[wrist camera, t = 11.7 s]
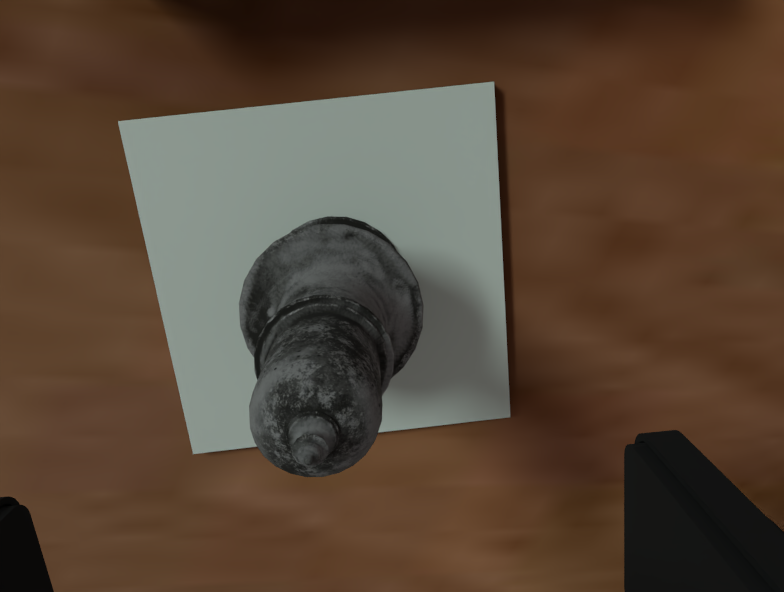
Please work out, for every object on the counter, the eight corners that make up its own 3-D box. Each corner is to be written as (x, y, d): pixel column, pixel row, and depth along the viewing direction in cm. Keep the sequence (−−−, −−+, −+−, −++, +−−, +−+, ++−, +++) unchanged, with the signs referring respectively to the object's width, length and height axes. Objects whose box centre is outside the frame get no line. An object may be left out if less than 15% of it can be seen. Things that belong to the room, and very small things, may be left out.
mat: (491, 82, 21) (494, 81, 20) (507, 411, 25) (510, 417, 24) (123, 121, 21) (117, 121, 20) (196, 447, 24) (193, 453, 24)
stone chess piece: (446, 273, 22) (536, 436, 11) (350, 386, 23) (337, 642, 12) (321, 174, 21) (271, 236, 9) (226, 298, 22) (77, 489, 11)
